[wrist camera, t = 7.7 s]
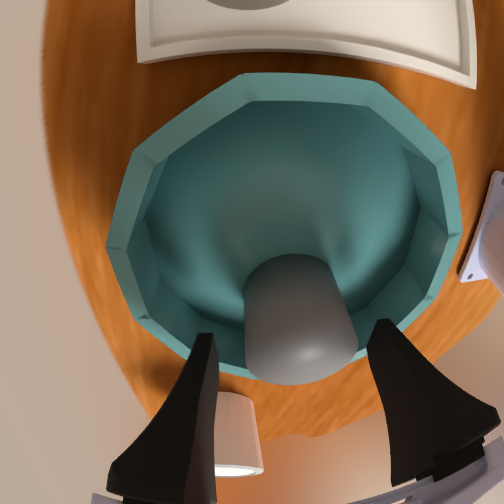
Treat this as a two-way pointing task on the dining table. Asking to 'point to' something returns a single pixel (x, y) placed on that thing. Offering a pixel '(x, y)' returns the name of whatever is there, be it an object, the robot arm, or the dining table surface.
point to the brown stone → (248, 4)
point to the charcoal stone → (296, 321)
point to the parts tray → (319, 32)
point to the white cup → (236, 437)
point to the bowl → (283, 207)
